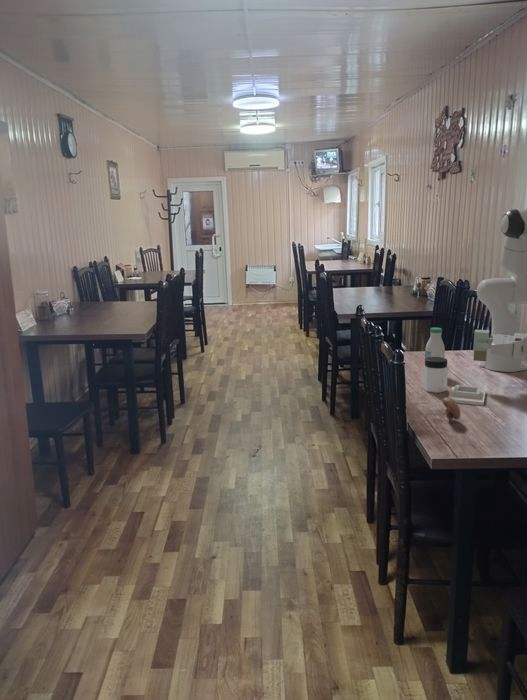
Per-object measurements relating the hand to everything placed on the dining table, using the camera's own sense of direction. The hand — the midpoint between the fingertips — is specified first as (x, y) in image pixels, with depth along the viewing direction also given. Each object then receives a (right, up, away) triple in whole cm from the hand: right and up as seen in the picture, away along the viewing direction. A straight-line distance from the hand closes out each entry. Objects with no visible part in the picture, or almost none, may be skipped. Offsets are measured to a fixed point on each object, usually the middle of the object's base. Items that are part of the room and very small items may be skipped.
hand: (478, 342), depth 213 cm
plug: (+1, -6, +1) cm, 7 cm away
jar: (-16, -18, +2) cm, 24 cm away
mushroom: (-21, -26, -31) cm, 46 cm away
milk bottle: (-10, -14, +22) cm, 28 cm away
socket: (-7, -20, -7) cm, 22 cm away
